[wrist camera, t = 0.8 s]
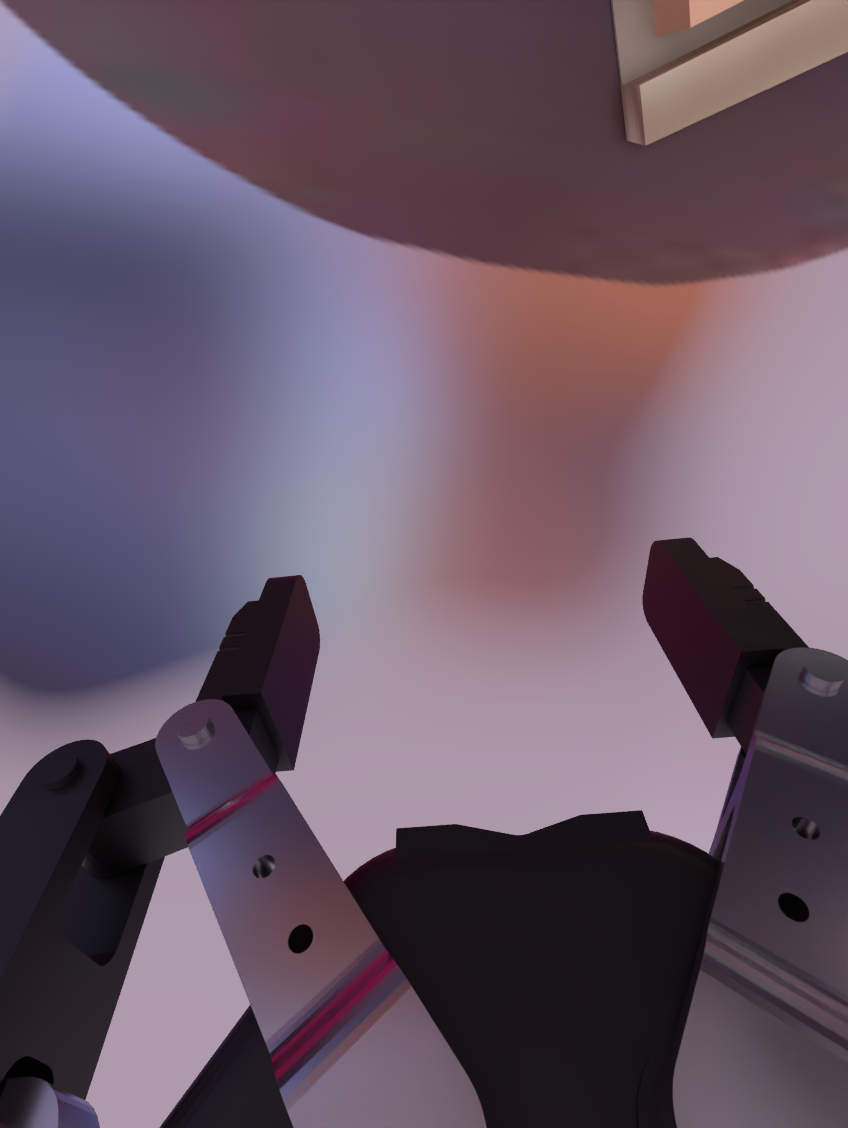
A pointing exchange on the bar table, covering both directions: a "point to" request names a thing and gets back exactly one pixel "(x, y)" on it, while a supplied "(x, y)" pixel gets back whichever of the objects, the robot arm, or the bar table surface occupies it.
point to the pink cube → (686, 13)
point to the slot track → (717, 58)
